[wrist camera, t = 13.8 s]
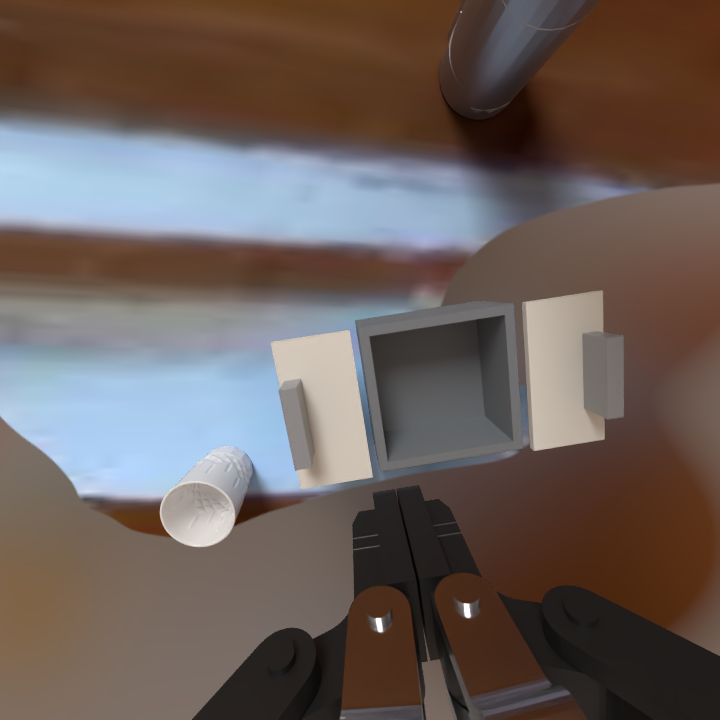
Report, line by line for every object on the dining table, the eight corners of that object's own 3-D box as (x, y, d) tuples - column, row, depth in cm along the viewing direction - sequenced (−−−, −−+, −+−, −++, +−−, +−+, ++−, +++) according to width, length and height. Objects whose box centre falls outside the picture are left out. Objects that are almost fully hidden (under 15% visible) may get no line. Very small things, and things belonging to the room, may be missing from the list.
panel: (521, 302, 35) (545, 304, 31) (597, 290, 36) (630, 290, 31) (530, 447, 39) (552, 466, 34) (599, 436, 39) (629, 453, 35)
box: (355, 320, 44) (357, 328, 35) (480, 300, 44) (513, 303, 35) (373, 437, 47) (380, 471, 38) (489, 419, 48) (523, 448, 39)
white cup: (268, 476, 48) (249, 525, 38) (220, 504, 48) (189, 559, 38) (235, 430, 46) (206, 468, 36) (186, 459, 47) (144, 504, 37)
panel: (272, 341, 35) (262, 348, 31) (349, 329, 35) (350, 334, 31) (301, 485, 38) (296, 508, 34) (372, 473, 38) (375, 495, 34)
